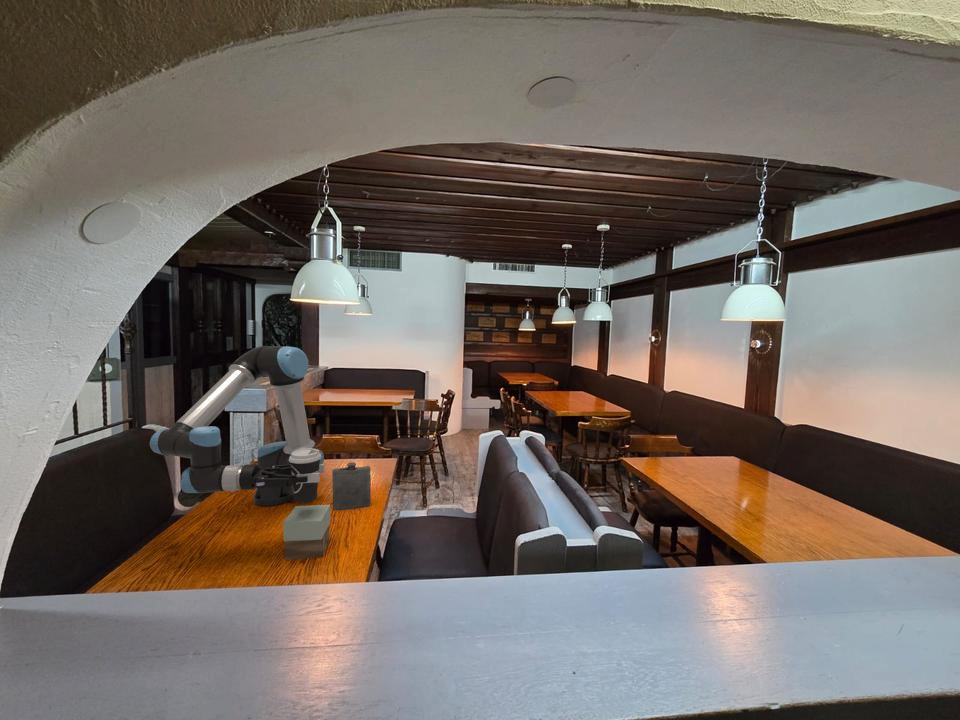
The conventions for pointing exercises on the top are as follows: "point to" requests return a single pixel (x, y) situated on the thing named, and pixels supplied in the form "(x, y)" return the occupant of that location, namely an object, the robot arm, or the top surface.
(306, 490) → the coffee cup
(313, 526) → the tower top
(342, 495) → the flask
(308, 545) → the tower base
